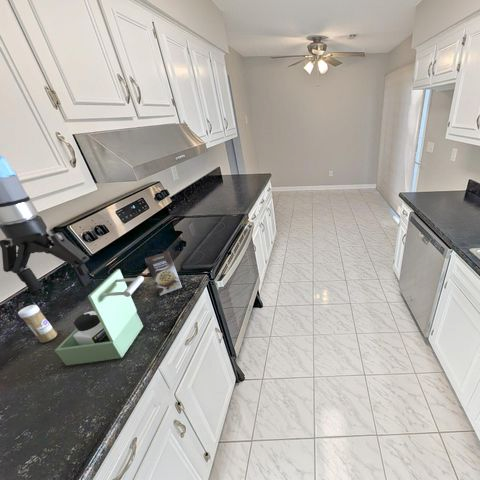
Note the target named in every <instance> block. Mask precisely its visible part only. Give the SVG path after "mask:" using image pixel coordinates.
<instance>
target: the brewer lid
mask: <svg viewBox="0 0 480 480" xmlns="http://www.w3.org/2000/svg"><path fill="white" fill-rule="evenodd" d="M144 281H145V277H144V276H142V275H138V276H137V277H130V278H129V277H127V278H124V276H123V274H122V271H121V269H120V268H117V269H116V270H114V271H113V272H112V273H111V274H110V275H109V276H108V277H107V278H106V279H104V281H102V282H101V283H100V284H99V285H98V286H97V287H96V288H95V289H94V290H92V292H90V293H89V294H88V295H87V298H88V300H89V302H90V304H91V306H92V308H93V311H95V312H96V314H97V316H98V318H99V320H100V322H101V324H102V326H103V328H104V330H105V332H106V334H107V336H108V337H109V339H110V341H111V342H114V340H115V339H116V338H117V336H118V335H119V334H120V332H121V331H122V330H123V328H124V327H125V326H126V324H127V323H128V322H129V321H130V319H131V318H132V317H133V315H134V314H135V313H137V311H138V309H137V307H136V305H135V302H134V300H133V298H132V295H133V294H134V292H135V291H136V290H137V289H138V288H139V286H140V285H141V284H142V283H143V282H144ZM126 282H131V283H130V284H129V285H127V283H126Z"/></svg>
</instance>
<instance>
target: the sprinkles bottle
mask: <svg viewBox="0 0 480 480" xmlns="http://www.w3.org/2000/svg"><path fill="white" fill-rule="evenodd" d="M17 314H18V316H19V317H20V318H21V319H23V321H24V322H25V323H26V325H27V327H28V328H29V329H30V330H31V331H32V333H33V334H34V336H36V337H37V339H38V340H39V343H47V342H50V341H51V340H53V339H54V338H56V337H57V336H58V332H57V331H56V330H55V329H54V328H53V325H52V324H51V323H50V322H49V320H48V319H47V318H46V317H45V315H44V314H43V312H42V311H41V310H40V307H39V306H38V305H37V304H30V305H28V306H25V307H23V308H21V309H20V310H19V311H18V312H17Z"/></svg>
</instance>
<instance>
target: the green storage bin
mask: <svg viewBox="0 0 480 480" xmlns="http://www.w3.org/2000/svg"><path fill="white" fill-rule="evenodd" d="M143 328H144V324H143V323H142V319H140V316H139V314H138V312H136V313H135V314H134V315H133V317H132V318H131V319H130V321H129V322H128V323H127V324H126V326H125V327H124V328H123V330H122V331H121V332H120V334H119V335H118V336H117V338H116V339H115V340H114V342H111V341H110V342H102V343H95V344H87V345H79V344H78V342H77V341H76V339H75V338H74V337H73V335H74V334H75V333H77V332H78V329H77V328H76V327H75V329H74V330H73V331H72V332H71V333H70V335H68V336H67V337H66V338H65V339H64V340H63V341H62V342H61V343H60V344H59V345H58V346H57V347H56V348H55V349H54V352H55V353H56V354H57V356H58V357H59V358H60V360H61V361H62V362H63V363H64V365H65V366H73V365H74V366H75V365H81V364H88V363H94V362H101V361H102V362H103V361H110V360H117V359H118V360H119V359H122V358H123V357H124V356H125V354H126V353H127V352H128V349H129V348H130V347H131V345H132V344H133V342H134V341H135V340H136V338H137V337H138V335H139V334H140V332H141V331H142V329H143Z"/></svg>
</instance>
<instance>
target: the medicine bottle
mask: <svg viewBox="0 0 480 480" xmlns="http://www.w3.org/2000/svg"><path fill="white" fill-rule="evenodd" d="M73 325H74V326H75V329H76V328H77V329H78V332H77V333H75V334H74V335H73V337H74V338H75V339H76V341H77V342H78V344H79V345H87V344H95V343H102V342H110V339H109V337H108V336H107V334H106V332H105V330H104V328H103V326H102V324H101V322H100V320H99V318H98V316H97V314H96V312H95V310H92V311H91V310H90V311H86V312H84V313H82V314H80V315H79V316H78V317H76V318H75V319H74V321H73Z"/></svg>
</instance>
